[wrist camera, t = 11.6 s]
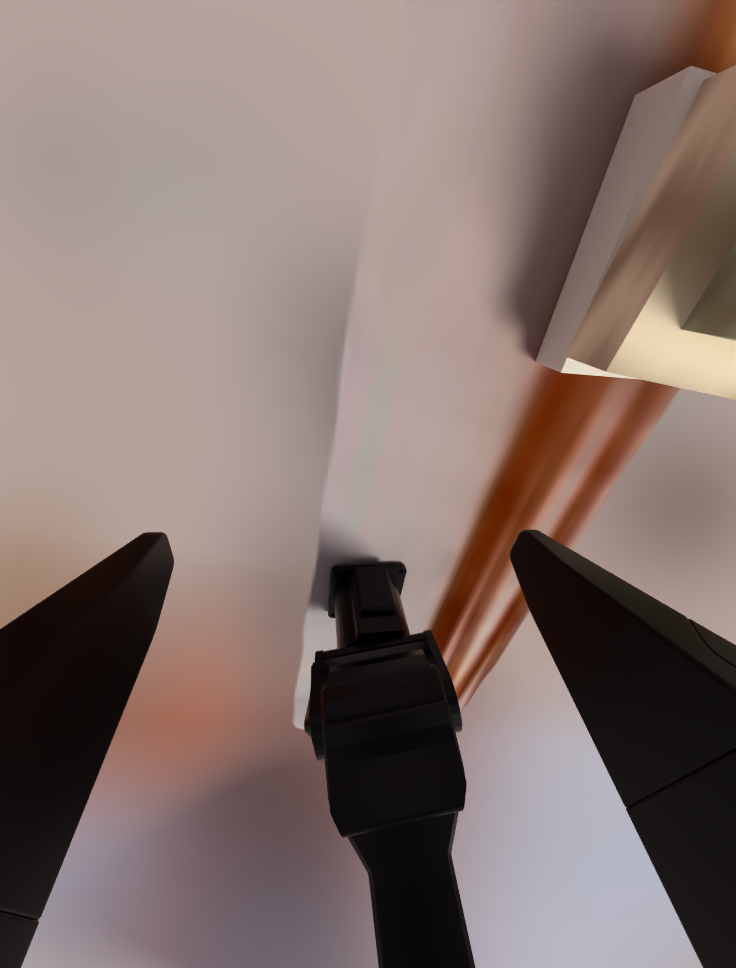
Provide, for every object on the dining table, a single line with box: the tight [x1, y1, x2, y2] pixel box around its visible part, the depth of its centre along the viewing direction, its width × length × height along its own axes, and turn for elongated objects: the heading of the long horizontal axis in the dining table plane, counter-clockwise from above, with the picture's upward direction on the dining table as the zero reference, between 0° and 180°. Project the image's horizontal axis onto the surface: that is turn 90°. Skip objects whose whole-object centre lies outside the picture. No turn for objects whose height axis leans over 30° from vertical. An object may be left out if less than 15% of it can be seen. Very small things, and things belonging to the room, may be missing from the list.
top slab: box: [565, 65, 736, 400], centre depth 15 cm, size 10×10×3 cm
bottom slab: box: [536, 66, 717, 379], centre depth 17 cm, size 11×11×3 cm
